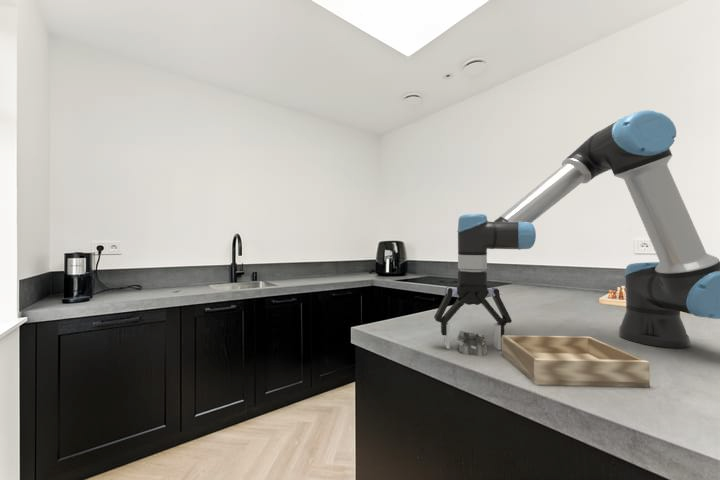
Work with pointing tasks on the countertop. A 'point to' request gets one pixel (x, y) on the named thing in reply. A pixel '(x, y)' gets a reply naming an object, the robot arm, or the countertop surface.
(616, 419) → the countertop surface
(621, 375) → the tray
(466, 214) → the robot arm
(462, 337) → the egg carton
